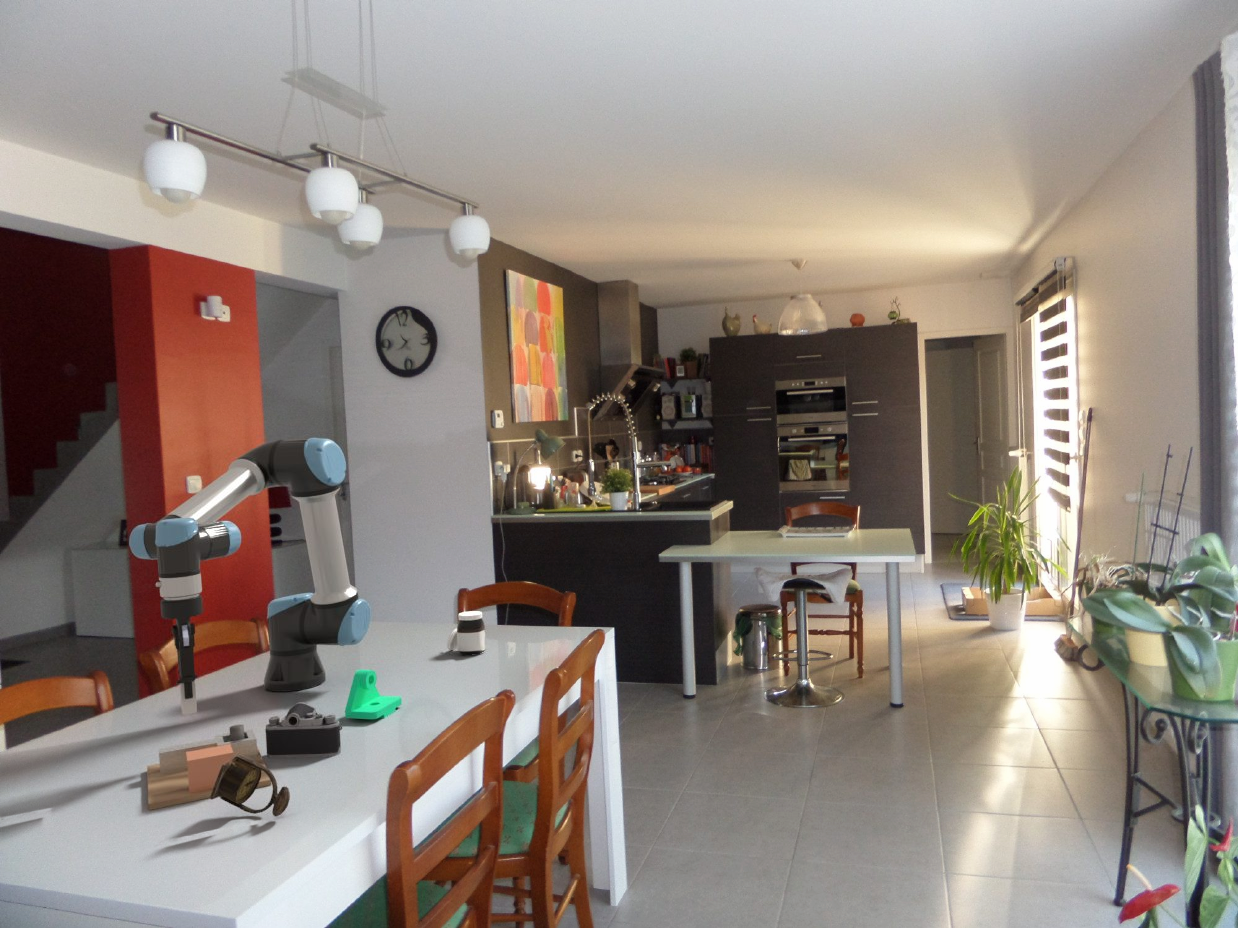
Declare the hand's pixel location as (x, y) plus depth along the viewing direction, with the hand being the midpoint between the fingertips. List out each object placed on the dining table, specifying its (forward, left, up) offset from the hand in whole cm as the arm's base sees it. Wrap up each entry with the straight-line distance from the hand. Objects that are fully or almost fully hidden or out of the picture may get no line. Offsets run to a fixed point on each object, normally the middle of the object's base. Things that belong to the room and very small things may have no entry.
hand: (189, 712), depth 182 cm
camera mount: (-8, +38, -10) cm, 41 cm away
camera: (+8, +21, -10) cm, 25 cm away
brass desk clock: (+36, +8, -10) cm, 38 cm away
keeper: (+19, +2, -9) cm, 21 cm away
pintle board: (+13, +2, -9) cm, 16 cm away
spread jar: (-53, +75, -10) cm, 92 cm away
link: (+7, -6, -8) cm, 13 cm away
